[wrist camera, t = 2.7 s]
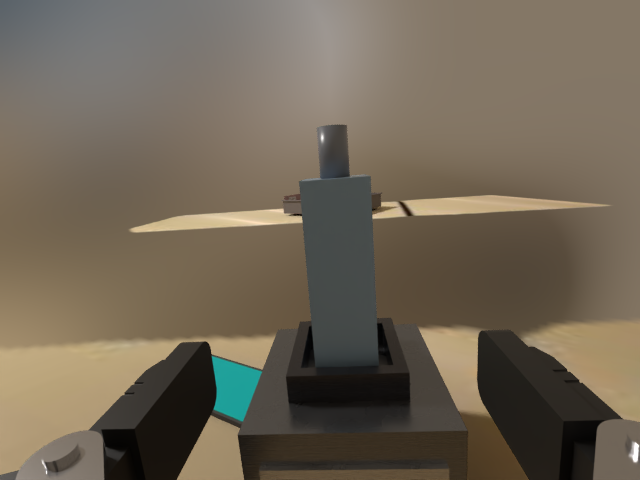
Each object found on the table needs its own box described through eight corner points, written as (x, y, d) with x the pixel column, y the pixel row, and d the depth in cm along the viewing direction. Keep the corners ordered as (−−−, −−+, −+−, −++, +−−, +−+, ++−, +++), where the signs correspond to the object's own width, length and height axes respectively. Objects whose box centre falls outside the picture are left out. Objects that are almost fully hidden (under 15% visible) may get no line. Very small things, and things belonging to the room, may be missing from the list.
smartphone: (247, 426, 29) (143, 382, 37) (248, 435, 29) (145, 389, 37) (295, 379, 35) (198, 349, 43) (296, 386, 35) (199, 355, 43)
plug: (316, 385, 22) (294, 125, 18) (320, 352, 26) (302, 133, 22) (379, 383, 21) (368, 119, 18) (373, 350, 25) (363, 127, 22)
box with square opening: (253, 557, 19) (231, 409, 17) (286, 408, 31) (276, 310, 29) (467, 559, 18) (470, 403, 16) (417, 405, 30) (415, 304, 28)
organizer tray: (347, 218, 145) (345, 195, 143) (282, 216, 170) (280, 196, 168) (383, 208, 169) (382, 188, 167) (321, 207, 195) (320, 190, 192)
